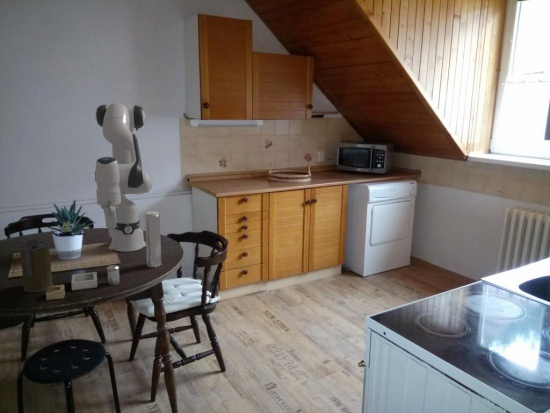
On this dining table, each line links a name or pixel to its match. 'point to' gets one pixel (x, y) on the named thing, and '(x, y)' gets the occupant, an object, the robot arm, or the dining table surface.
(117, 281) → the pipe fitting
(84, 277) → the wide socket
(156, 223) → the light grey piece
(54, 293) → the narrow socket
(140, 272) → the dining table surface
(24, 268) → the canister
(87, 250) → the dining table surface
